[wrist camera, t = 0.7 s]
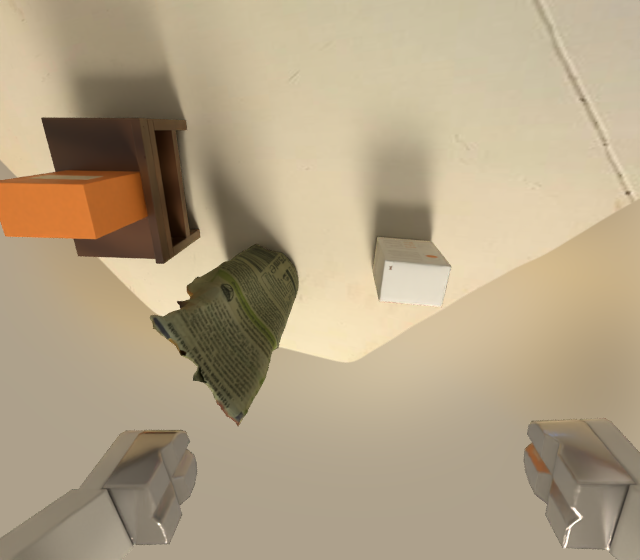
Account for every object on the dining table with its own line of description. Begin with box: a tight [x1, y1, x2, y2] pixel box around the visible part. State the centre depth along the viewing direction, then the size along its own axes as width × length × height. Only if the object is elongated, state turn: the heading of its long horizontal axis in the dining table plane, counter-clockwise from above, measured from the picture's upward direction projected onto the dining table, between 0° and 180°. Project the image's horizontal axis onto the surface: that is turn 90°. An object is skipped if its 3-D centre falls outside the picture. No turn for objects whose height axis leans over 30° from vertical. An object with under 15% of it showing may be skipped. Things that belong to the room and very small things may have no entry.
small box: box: [373, 237, 451, 307], centre depth 48 cm, size 8×6×10 cm
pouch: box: [150, 244, 299, 426], centre depth 44 cm, size 11×12×25 cm
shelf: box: [41, 118, 200, 264], centre depth 46 cm, size 16×12×12 cm
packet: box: [0, 170, 148, 239], centre depth 37 cm, size 5×9×10 cm, turn 89°
